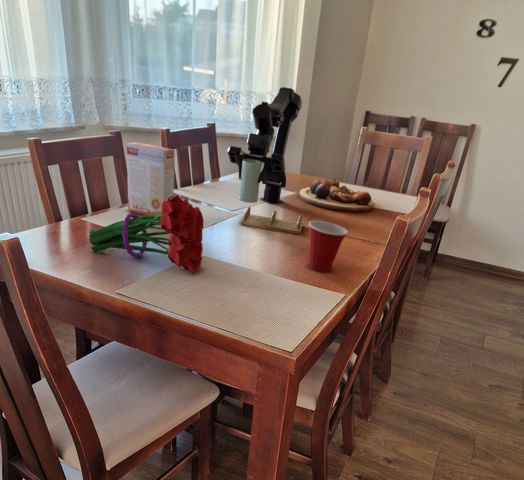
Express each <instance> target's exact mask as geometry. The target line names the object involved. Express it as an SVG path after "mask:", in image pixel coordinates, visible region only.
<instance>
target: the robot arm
mask: <svg viewBox="0 0 524 480" xmlns="http://www.w3.org/2000/svg"><path fill="white" fill-rule="evenodd" d="M302 105H303V101H302V98H301V96H300V95H299V94H298V93H297V92H295V89H293V88H291V87H285V86H282V87H279V90H278V93H277V94H276V96H275V97H274V98H273V100H272V101H271V103H269V102H267V101H261V103H260V104H257V105H255V106H254V107H253V108H252V117H253V122H254V128H255V129H256V132H255V133H251V132H249V133H248V136H247V142H246V145H247V151H248V152H245V151H244V150H243V149H242V147H241V146H240V147H239V146H235V145H230V146H229V147H228V149H227V155H228V158H229V162H230V163H231V164H234V165H235V164H236V166H237V167H238V180H240V181H241V172H242V161H243V159H253V160H258V161H261V162H262V164H263V167H262V168H261V174H260V176H259V179H258V183H259V184H261V185H264V190H263V197H260V200H262V201H265V202H266V203H269V204H276V203H283V200H282V199H281V193H282V189H283V188H286V187H287V174H286V167H285V166H286V164H285V163H286V161H285V153H286V151H287V145H288V140H289V136H290V132H291V129H292V128H291V127H292V124H293V122H294V121H295V120H296V119H297V118H298V116H299V113H300V111H301V109H302ZM275 128H277V132H276V130H275ZM275 132H276V137H275V141H274V146H273V150H272V153H271V155H270V157H269V156H268V153H270V147H271V145H272V141H273V140H274V136H275Z"/></svg>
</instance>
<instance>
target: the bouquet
mask: <svg viewBox="0 0 524 480" xmlns="http://www.w3.org/2000/svg"><path fill="white" fill-rule="evenodd" d="M172 197H173V196H171V197H170V198H168V199H167V200H165V201H163V202H162V212H161V213H162V214H160V215H159V216H152V215H139V214H138V213H136V212H129V213H127V214H126V215H125V217H124V220H120V221H116V222H114V223H112V224H109V225H106V226H104V227H102V228H100V229H90V230H89V235H88V237H89V238H88V241H89V243H90V244H91V247H90V249H91V250H92V251H93V253H94V254H96V253H99V252H102V251H105V250H108V249H110V248H111V249H119V250H126V252H127V253H128V254H129V255H130V256H131V257H132V258H141V257H142V256H143V255H144V253H145V252H147V253H149V252H151V253H156V254H157V253H158V254H162V255H167V258H168V260H169V261H170V262H171V263H172V264H174V265H176V266H177V267H179V268H183V269H184V271H187V272H188V273H191V274H193V275H195V274H196V273H197V272H199V270H200V269H201V268H202V261H203V256H202V254H203V249H204V248H203V242H202V241H203V229H204V224H205V223H204V222H205V221H204V216H203V213H202V211H201V209H200V207H198V206H195V207H194V206H193V204H192V203H190V202H189V200H188V198H185V197H183V198H181V196H180V195H179V194H176V195H174V197H173V198H172ZM171 198H172V199H171ZM170 199H171V200H170ZM148 229H154V230H161V231H154V232H153V231H152V232H148ZM163 235H169V238H167V237H163ZM150 242H151V243H153V244H154V245H156V246H159V248H162V249H164V250H162V249H159V248H154V247H147V245H148V243H150ZM136 243H137V244H139V243H141V246H140V245H133V244H136ZM164 245H166V246H169V247H168V248H167V247H166V246H164ZM134 251H137V252H134Z"/></svg>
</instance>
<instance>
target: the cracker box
mask: <svg viewBox="0 0 524 480" xmlns="http://www.w3.org/2000/svg"><path fill="white" fill-rule="evenodd" d="M175 156H176V150H175V149H172V148H167V147H163V146H159V145H153V144H148V143H144V142H139V141H135V142H128V143H126V162H127V163H126V168H127V170H126V171H127V172H126V173H127V210H128V211H129V212H131V213H136V214H138V215H142V216H144V215H152V216H159V215H160V214H162V213H161V212H162V202H163V201H165V200H167V199H168V198H170V197H171V196H173V197H175V162H176V161H175V160H176V159H175ZM173 197H172V198H173ZM172 198H171V199H172ZM171 199H170V200H171Z"/></svg>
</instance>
